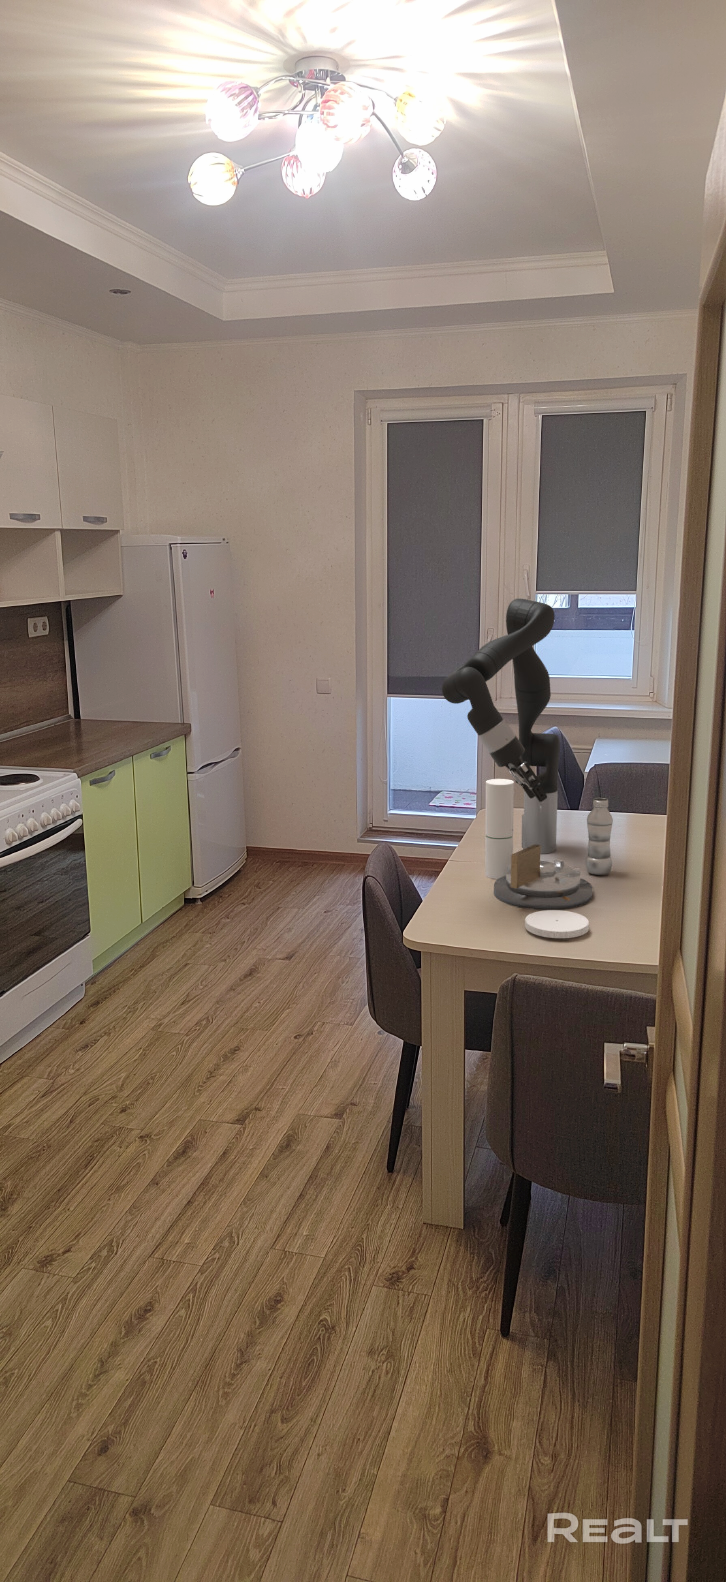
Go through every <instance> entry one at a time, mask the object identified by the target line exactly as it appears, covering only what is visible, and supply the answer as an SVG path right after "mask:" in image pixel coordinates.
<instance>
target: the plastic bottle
mask: <svg viewBox="0 0 726 1582" xmlns="http://www.w3.org/2000/svg"><path fill="white" fill-rule="evenodd" d="M592 801H593V802H592V809H591V811H590V812H589V813H588V814H587V817H586V824H587V826H586V827H587V832H588V834H587V835H588V837H587V838H588V846H587V847H588V848H587V855H586V858H585V859H586V860H585V868H586V871H587V872H588V873H589V874H591V875H598V876H605V875H608V874H609V873H610V872H611V870H612V867H613V862H612V856H611V834H612V828H613V823H614V819H613V816H612V814H611V812H610V811H609V808H608V807H609V799H608V798H603V797H595V798H593V800H592Z"/></svg>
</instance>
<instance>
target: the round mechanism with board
mask: <svg viewBox="0 0 726 1582" xmlns="http://www.w3.org/2000/svg"><path fill="white" fill-rule="evenodd" d="M540 852H541V845H537V844H534V845H532V846H530V847H527V848H525V849H523V848H522V849H521V850H518V851H516V852H515V853H514V852H513V854H512V855H511V867H509V866H507V871H506V886H507V887H508V888H509V889H510V890H512V891H515V892H517V893H521V894H525V895H530V896H540V897H554V896H563V895H568V894H572V893H574V892H576V891H578V890H579V889H580V878H581V868H578V867H577V868H576V867H573V866H572V867H571V866H570V865H566V864H565V860H563V859H559V858H558V859H555V860H553V862H552V861H548V860H541V853H540Z"/></svg>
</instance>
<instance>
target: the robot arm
mask: <svg viewBox="0 0 726 1582" xmlns="http://www.w3.org/2000/svg"><path fill="white" fill-rule="evenodd" d="M555 617H556V616H555V610H554V608H553V607H552V606H551V605H549V604H548V603H544V602H539V601H535V600H530V599H526V598H515V599H513V600H511V601H510V602H509V604H508V607H507V609H506V614H505V626H506V633H507V634H506V635H503V636H501V637H498V638H495V639H493V640H490V641H488V642H487V643H485V644H484V645H483V646H482V647H480V648H479V649H478V650H477V651H476V652H475V653H474V654H473V655H472V656H471V657H470V658H469V659H468V660H467V661H466V662H465V663H464V664H462V665H461V666H459V667H457V668H456V669H455V670H454V671H452V672H451V673H450V674H448V675H447V677H446V678H444V680H443V682H442V686H441V694H442V696H443V698H444V699H445V700H446V701H447V702H449V703H450V704H457V705H458V704H461V703H464V702H466V701H469V703H470V706H471V709H470V710H469V711H468V713H467V716H466V717H467V720H468V722H469V724H470V725H471V727H472V728H473V730H474V731H475V732H476V734H477V736H478V738H479V739H480V741H481V743H482V745H483V747H484V748H485V749H486V751H487V752H488V754H489V755H490V757H491V758H492V759H493V761H494V762H495V764H496V765H497V767H499V768H504V767H505V768H506V769H507V770H508V772H509V774H510V775H511V777H512V778H513V781H514V783H516V784H518V785H519V786H520V787H521V788H522V789H523V814H522V815H521V847H522V850H523V849H525V848H527V847H530V846H532V845H534V844H537V845H541V852H540V854H550V853H554V852H555V851H556V850H557V833H558V832H557V830H558V829H557V828H558V827H557V826H558V825H557V824H558V792H559V790H558V789H559V788H558V786H559V785H558V784H559V763H560V762H559V761H560V750H561V744H560V741H561V740H560V738H559V736H558V735H557V734H555V733H542V732H541V733H540V732H539V733H538V732H533V731H532V729H533V727H534V724H535V722H536V721H537V719H538V718H539V716H540V715H541V714H542V713H543V711H544V710H545V708H547V705H548V704H549V702H550V700H551V695H552V693H551V677H550V674H549V671H548V669H547V667H546V665H545V664H544V662H543V661H542V660H541V658H540V657H539V655H538V653H537V652H536V650H535V649H534V647H533V646H535V645H537V644H538V643H540V642H541V641H543V640H544V639H545V638H546V637H547V636H548V635H549V634H550V632H551V631H552V630H553V627H554V624H555ZM511 661H512V665H513V677H514V680H513V681H514V693H515V700H516V709H517V717H518V718H517V719H518V720H517V721H518V737H517V734H515V732H514V731H513V729H512V728H511V726H510V725H509V723H507V721H506V720H505V719H504V718H503V716H502V715H501V714H500V712H499V710H498V709H497V708H496V706H495V705H494V702H493V699H492V696H491V693H490V690H489V688H488V684H487V682H488V681H489V680H491V679H492V678H493V677H495V676H496V675H497V673H499V672H500V670H502V669H503V668H504V667H505V666H506V665H507V664H508V663H509V662H511ZM531 767H542V768H543V767H544V768H545V770H544V772H542V773H540V774H536V773H535V772H534V771H533V769H532V768H531Z"/></svg>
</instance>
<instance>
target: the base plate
mask: <svg viewBox="0 0 726 1582" xmlns="http://www.w3.org/2000/svg"><path fill="white" fill-rule="evenodd" d="M593 891H594V890H593V885H592V884H591V883H590V882H589V881H587V880H586V879H584V878H582V877H580V889H579V890H578V891H576V892H574V893H572V894H568V895H563V896H554V897H540V896H530V895H525V894H521V893H517V892H515V891H512V890H510V889H509V888H508V887H507V886H506V876H503V877H501V878H499V879H495V881H494V883H493V895H494V897H495V898H496V899H497V900H499V901H500V902H503V903H504V904H506V905H509V906H512V907H517V908H522V909H528V910H535V911H536V910H538V911H546V910H561V911H562V910H569V909H574V908H578V907H581V906H584V905H586V904H588V903H590V902H591V900H592V899H593Z"/></svg>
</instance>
